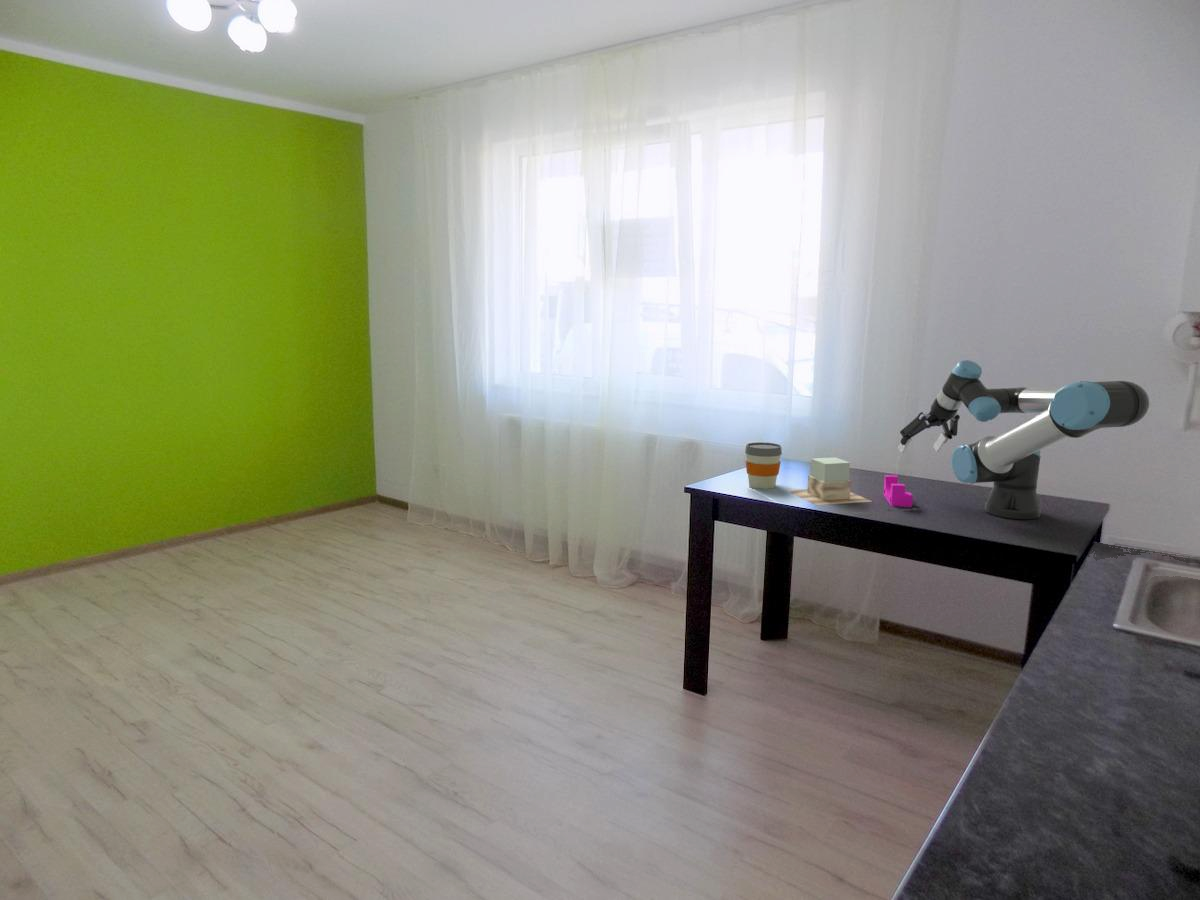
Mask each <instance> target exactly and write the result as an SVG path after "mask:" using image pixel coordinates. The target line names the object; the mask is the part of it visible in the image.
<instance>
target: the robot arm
mask: <svg viewBox="0 0 1200 900" xmlns="http://www.w3.org/2000/svg"><path fill="white" fill-rule="evenodd" d="M982 373H983V371H982V367H981V366H980V365H979V364H978V363H976V362H974V361H972V360H967V359H966V360H964V359H963V360H962V359H961V360H959V361H958V363H956V365H955V367H954V368H953V369H952V370H951V372H950V375H948V377H947V379H946V381H945V383H944V384H943V386H942V388H941V389H940V391H939V392H938V394H937V396H936V398H935V399H934V400H933V403H932V404H931V405H930V411H929V412H928V413H927V414H926V413H924V412H923V411H922V412H919V413H918V415H917V416H916V417H915V418H914V419H913V420H912V421H911V422H909V423H908V424H907V425H906V426H905V427H904V428H902V429H901V430H900V431H899V433H900V435H901V436H902V437H901V439H900V441H899V442H900V443H899V444H898V446H897V449H898V450H899V452H900V453H901V454H904V453H905V451H906V450H907V448H908V447H909V445H910V443H911V442H912V440H913V439H912V438H913V437H915V436H917V435H918V434H919V433H921V432H922V431H924V430H926V429H930V428H932V427H940V426H941V428H942V429H943V432H941V433H940V435H939V436H938V437H937V438H936V440H935V442H934V444H933V445H932V447H933V448H934V450H935V452H936V453H939V452H940V450H941V449H942V447H943V446H944V445H945V444H946V443H947V442H948V440H952V439H953V437H956V436H957V435H958V426H959V425H958V423H959V420H960V418H961V417H960V415H959V413H958V411H959V409H960V408H961V406H962V405H963V404H964V407H966V408H967V410H968V411H969V413H970V414H971V415H972V416H973V417H974V418H975V419H976V420H977V421H979V422H981V423H986V422H989V421H993V420H994V419H995V418H997V417H998V416H999V415H1000V414H1008V413H1009V414H1010V413H1011V414H1037V415H1035V416H1032V417H1031V418H1029V419H1027V420H1026V421H1024V422H1022V423H1020V424H1018V425H1016V426H1014V427H1013V428H1010V429H1009V430H1007V431H1005V432H1003V433H1001V434H1000V435H998V436H996V435H995V436H994V435H990V436H984V437H983V438H982V439H980V440H978V441H976V442H974V443H971V444H966V443H965V444H961V445H958V446H956V447H955V448H954V450H953V452H952V454H951V461H950V462H951V463H950V464H951V469H952V471H953V474H954V476H955V477H956V479H957V480H959V482H961V483H963V484H970V485H971V484H972V485H973V484H980V483H982V484H983V483H993V486H992V489H991V491H990V493H989V496H988V499H987V500H986V501H985V504H984V511H985V512H986V513H988V514H991V515H993V516H996V517H1000V518H1005V519H1006V518H1007V519H1015V520H1034V519H1035V520H1036V519H1038V518H1040V517H1041V511H1042V510H1041V506H1040V503H1039V501H1040V500H1039V497H1038V493H1037V488H1038V487H1037V486H1038V478H1039V471H1040V462H1041V457H1042V456H1041V450H1042V449H1045V448H1047V447H1049V446H1051V445H1054V444H1055V443H1057V442H1059V441H1061V440H1064V439H1065V438H1071V439H1078V438H1082V437H1084V436H1086V435H1087V434H1090V433H1093V432H1094V431H1097V430H1099V429H1106V428H1107V429H1108V428H1122V427H1127V426H1128V427H1129V426H1132V425H1134V424H1137V423H1138V422H1139V421H1141V420H1142V419H1143V418H1144V417H1145V416H1146V415H1147V413H1148V411H1149V408H1150V398H1149V395H1148V393H1147V391H1146V390H1145V389H1144V388H1143V387H1142V386H1140V385H1139V384H1137V383H1134V382H1132V381H1128V380H1127V381H1126V380H1111V381H1110V380H1109V381H1106V380H1105V381H1087V380H1085V381H1084V380H1082V381H1077V382H1071V383H1068V384H1064V385H1063V386H1062V387H1023V386H1022V387H1021V386H1020V387H1009V388H1008V387H1007V388H1006V387H1005V388H987V387H986V386H985V385H984V383H983V382H982V381H981V380H980V378H981V375H982ZM949 421H950V423H949V424H948V422H949Z"/></svg>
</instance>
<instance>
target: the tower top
mask: <svg viewBox="0 0 1200 900" xmlns="http://www.w3.org/2000/svg"><path fill="white" fill-rule="evenodd" d="M850 466H851V462H849V461H847V460H844V459H841V458H838V457H822V458H821V457H818V458H815V457H814V458H811V459H810V474H809V476H811V477H814V478H816V479H818V480H821V481H823V482H832V481H849V480H850V470H851V467H850Z"/></svg>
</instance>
